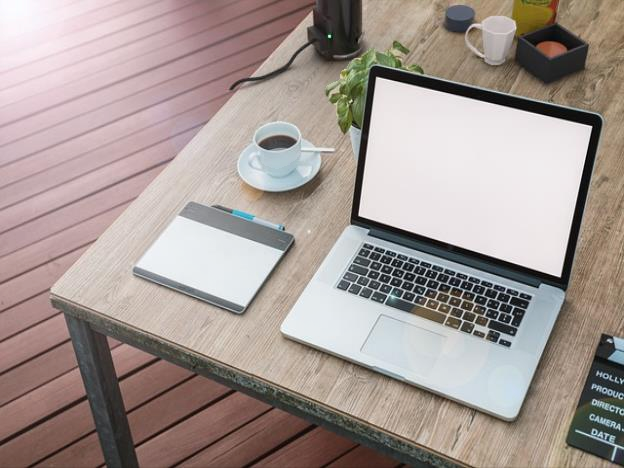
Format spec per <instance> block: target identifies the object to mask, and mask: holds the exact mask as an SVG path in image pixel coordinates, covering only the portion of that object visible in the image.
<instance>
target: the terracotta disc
mask: <svg viewBox="0 0 624 468" xmlns="http://www.w3.org/2000/svg"><path fill="white" fill-rule="evenodd" d="M536 48H538V49H539V50H541V51H542V52H543V53H545V54H546V55H548V56H549V57H550V58H551V57H554V56H556V55H559V54H561V53H564V52H566V51H567V49H566V47H565V46H564V45H562V44H560V43H557V42H551V41H547V42H542V43H539V44H538V45H537V46H536Z"/></svg>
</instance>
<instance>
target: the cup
mask: <svg viewBox="0 0 624 468" xmlns="http://www.w3.org/2000/svg"><path fill="white" fill-rule="evenodd" d="M473 28H477V29H480V30H481V33H482V34H481V35H482V36H481V38H482V46H483V53H481V52H480V51H479V50H478V49H476V48H475V47H474V45H472V44H471V42H470V41H469V38H468V34H469V31H470V30H471V29H473ZM515 32H516V23H515V21H514V20H512V19H511V18H510V17H508V16H506V15H490V16H488V17H486V18H484V19H483V20H482V21H481V23H474V24H472V25H471V26H470V27H469V28H468V30H467V31H465V36H464V42H465V44H466V45H467V47H468V48H469V49H470V50H471V51H472V52H473V53H474V54H475V55H477V56H478V57H479V58H483V59H484V63H486V64H488V65H491V66H501V65H502V64H504V63H505V62H506V57H508V54H509V52H510V49H511V46H512V45H513V44H512V43H513V40H514V38H515V37H514V35H515Z"/></svg>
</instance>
